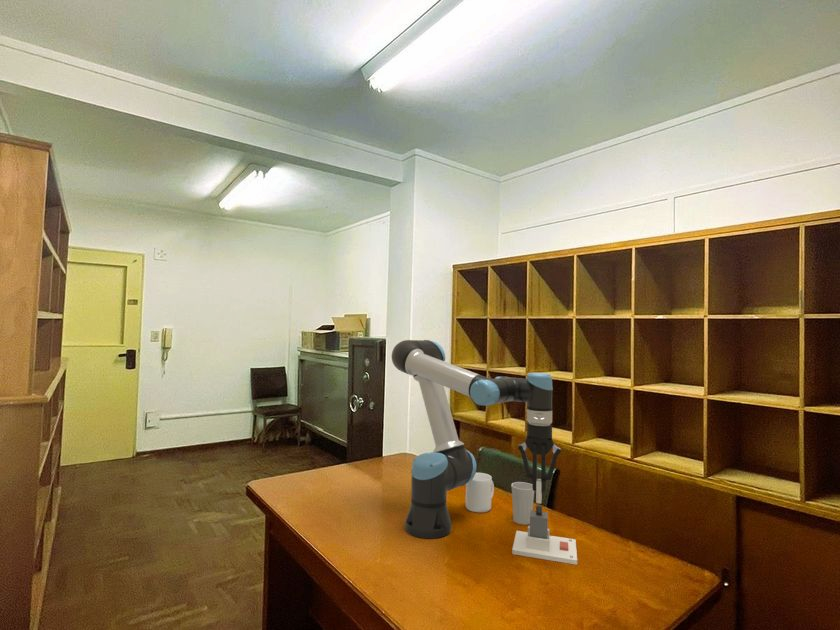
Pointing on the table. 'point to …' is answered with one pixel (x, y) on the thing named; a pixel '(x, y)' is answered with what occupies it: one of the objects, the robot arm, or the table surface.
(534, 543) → the socket
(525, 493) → the cup
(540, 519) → the plug
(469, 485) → the mug
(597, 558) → the table surface
